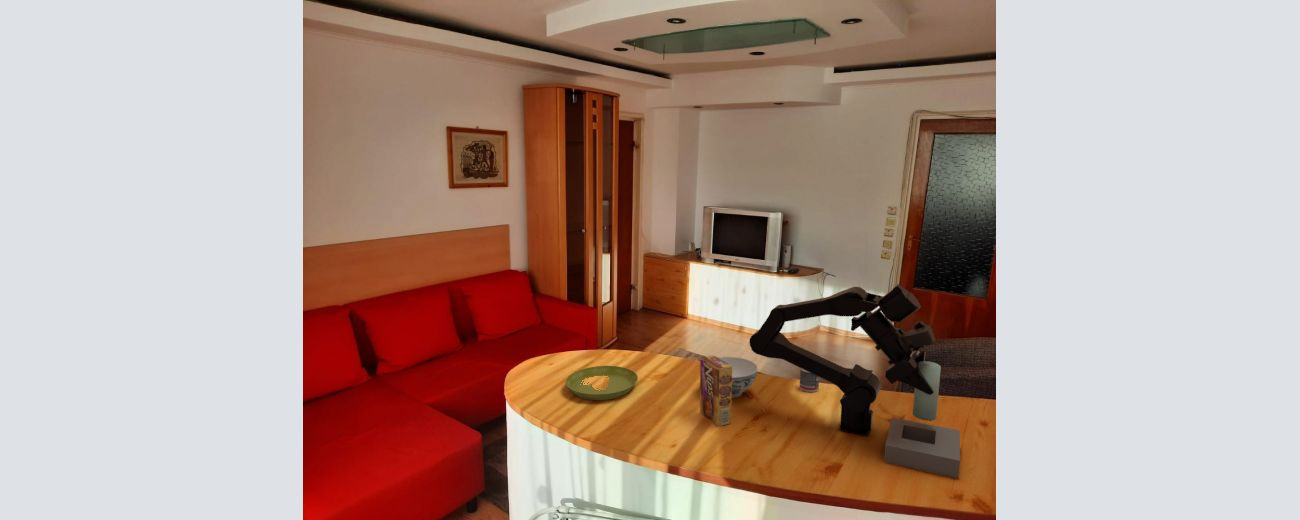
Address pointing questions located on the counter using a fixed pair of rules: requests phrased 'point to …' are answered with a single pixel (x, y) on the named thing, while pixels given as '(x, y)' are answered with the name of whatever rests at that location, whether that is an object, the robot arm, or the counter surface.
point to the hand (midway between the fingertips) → (933, 389)
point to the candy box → (715, 390)
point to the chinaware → (741, 374)
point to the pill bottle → (808, 381)
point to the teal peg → (923, 402)
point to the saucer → (617, 386)
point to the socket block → (923, 447)
